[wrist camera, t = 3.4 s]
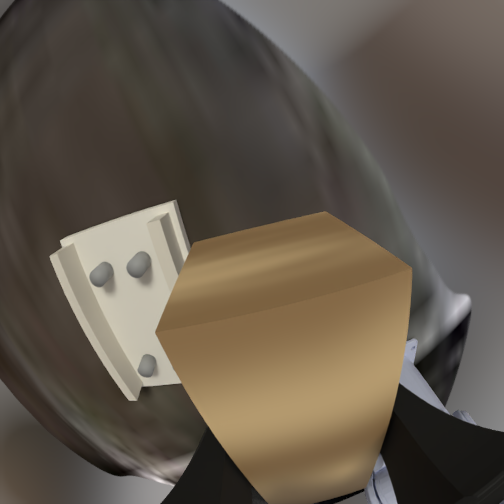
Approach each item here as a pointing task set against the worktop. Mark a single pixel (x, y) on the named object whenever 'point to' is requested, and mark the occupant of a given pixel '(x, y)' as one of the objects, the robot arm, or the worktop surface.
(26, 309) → the worktop surface
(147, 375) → the peg base
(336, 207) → the worktop surface
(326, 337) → the golden brown block
